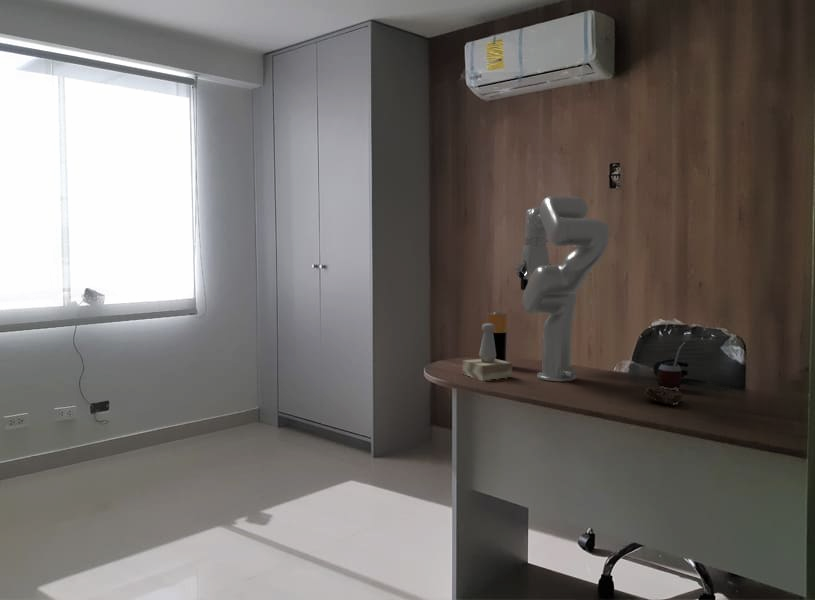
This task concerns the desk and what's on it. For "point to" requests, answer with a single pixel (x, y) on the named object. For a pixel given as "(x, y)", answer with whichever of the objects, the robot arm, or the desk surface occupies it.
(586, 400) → the desk surface
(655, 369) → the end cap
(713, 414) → the desk surface
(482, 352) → the salt shaker
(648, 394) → the concrete sample
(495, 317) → the battery
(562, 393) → the desk surface
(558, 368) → the robot arm
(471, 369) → the maple block
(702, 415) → the desk surface
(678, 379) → the mate gourd
